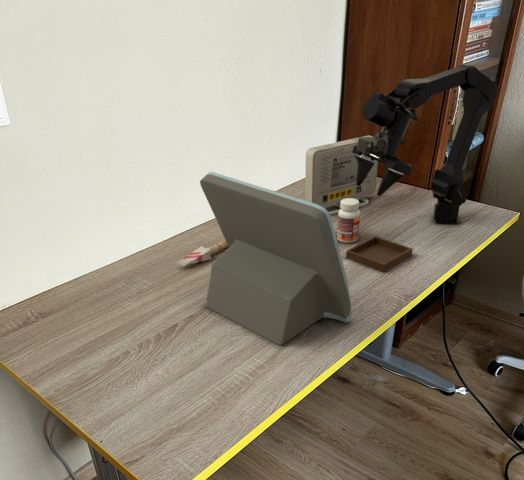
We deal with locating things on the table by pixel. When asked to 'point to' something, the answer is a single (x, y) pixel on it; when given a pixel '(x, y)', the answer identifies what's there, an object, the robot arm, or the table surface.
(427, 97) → the robot arm
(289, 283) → the touchscreen device
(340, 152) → the network device
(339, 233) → the pill bottle
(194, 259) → the chopstick bundle
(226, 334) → the table surface
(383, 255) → the walnut tray
